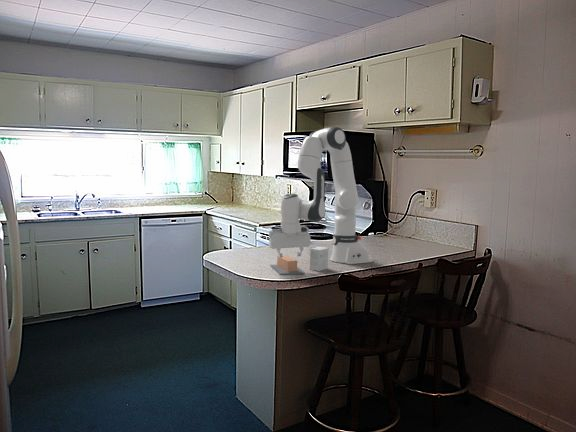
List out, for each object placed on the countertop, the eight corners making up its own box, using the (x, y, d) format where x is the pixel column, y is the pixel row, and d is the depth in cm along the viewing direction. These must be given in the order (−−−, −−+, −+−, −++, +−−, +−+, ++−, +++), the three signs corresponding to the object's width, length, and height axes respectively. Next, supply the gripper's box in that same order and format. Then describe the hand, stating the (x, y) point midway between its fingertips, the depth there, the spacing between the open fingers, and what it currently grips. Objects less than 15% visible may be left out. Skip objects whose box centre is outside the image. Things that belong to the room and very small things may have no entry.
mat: (293, 265, 246) (293, 264, 246) (304, 273, 229) (304, 272, 229) (270, 266, 243) (270, 264, 243) (280, 275, 226) (280, 273, 226)
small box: (318, 266, 244) (319, 246, 243) (328, 268, 241) (328, 247, 240) (309, 269, 238) (310, 248, 237) (318, 271, 235) (319, 250, 233)
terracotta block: (286, 255, 242) (297, 260, 231) (286, 265, 242) (297, 271, 232) (277, 256, 240) (287, 261, 229) (277, 266, 240) (287, 271, 230)
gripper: (271, 230, 226) (270, 259, 228) (312, 228, 233) (311, 256, 234) (267, 228, 232) (267, 256, 234) (307, 226, 238) (307, 254, 240)
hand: (289, 256), depth 234 cm, fingers open, 8 cm apart
